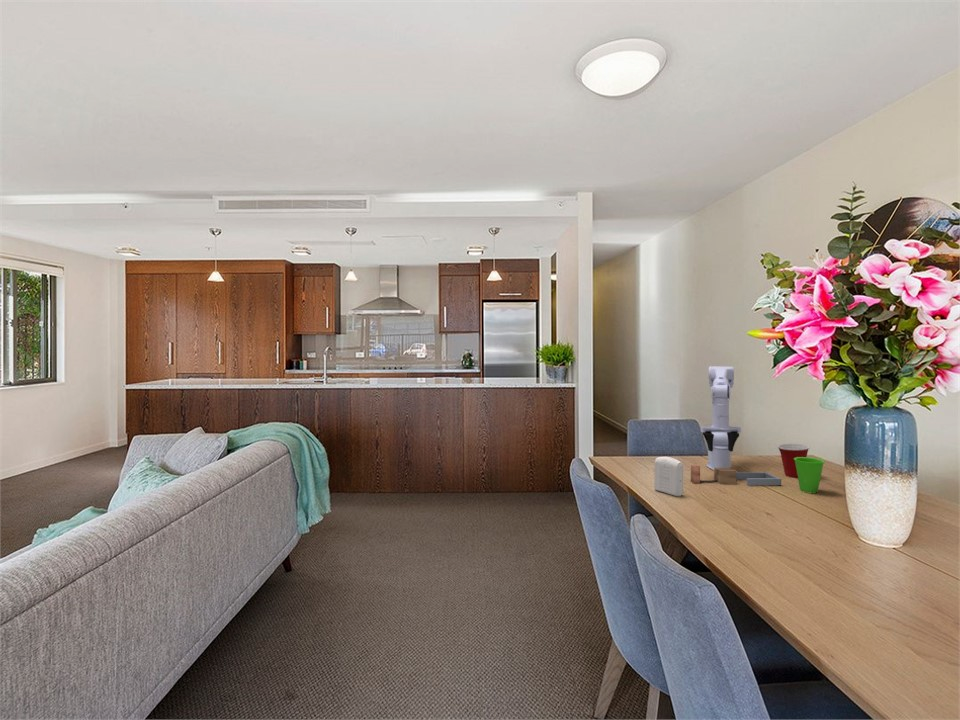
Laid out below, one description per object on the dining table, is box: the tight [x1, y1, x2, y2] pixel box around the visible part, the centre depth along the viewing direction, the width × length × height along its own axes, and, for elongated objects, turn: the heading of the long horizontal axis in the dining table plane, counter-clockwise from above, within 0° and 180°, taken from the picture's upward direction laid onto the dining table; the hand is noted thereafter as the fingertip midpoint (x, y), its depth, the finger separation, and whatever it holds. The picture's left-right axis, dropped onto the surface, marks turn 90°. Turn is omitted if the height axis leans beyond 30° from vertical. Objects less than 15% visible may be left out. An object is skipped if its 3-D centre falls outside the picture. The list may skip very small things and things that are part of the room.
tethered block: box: [690, 465, 738, 485], centre depth 189 cm, size 5×16×6 cm, turn 89°
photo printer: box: [654, 456, 684, 497], centre depth 177 cm, size 10×4×12 cm, turn 31°
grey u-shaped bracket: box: [737, 471, 782, 487], centre depth 189 cm, size 10×12×2 cm
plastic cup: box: [777, 443, 810, 479], centre depth 197 cm, size 11×11×12 cm
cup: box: [794, 457, 826, 494], centre depth 177 cm, size 9×9×11 cm
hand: (720, 450), depth 196 cm, fingers open, 7 cm apart
